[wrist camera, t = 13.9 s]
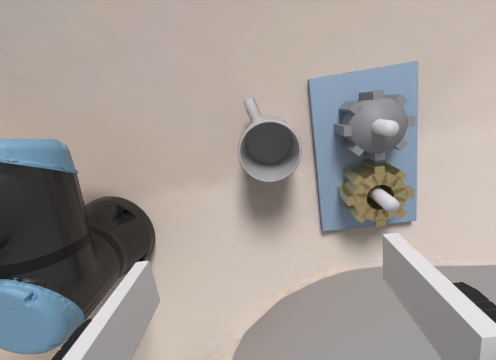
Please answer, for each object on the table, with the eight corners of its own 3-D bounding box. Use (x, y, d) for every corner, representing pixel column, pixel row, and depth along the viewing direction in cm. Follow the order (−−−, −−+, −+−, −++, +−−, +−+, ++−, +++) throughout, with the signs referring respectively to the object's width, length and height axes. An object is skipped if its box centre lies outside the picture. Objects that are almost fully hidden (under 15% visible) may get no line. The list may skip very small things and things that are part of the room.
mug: (300, 153, 46) (312, 168, 35) (255, 172, 47) (253, 192, 37) (273, 86, 43) (276, 80, 33) (226, 109, 44) (214, 110, 34)
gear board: (321, 227, 49) (336, 259, 39) (307, 80, 42) (321, 72, 32) (411, 217, 48) (451, 247, 38) (412, 62, 41) (461, 48, 31)
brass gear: (339, 215, 47) (349, 230, 42) (335, 163, 44) (345, 171, 39) (396, 209, 46) (413, 222, 41) (395, 154, 43) (414, 161, 38)
